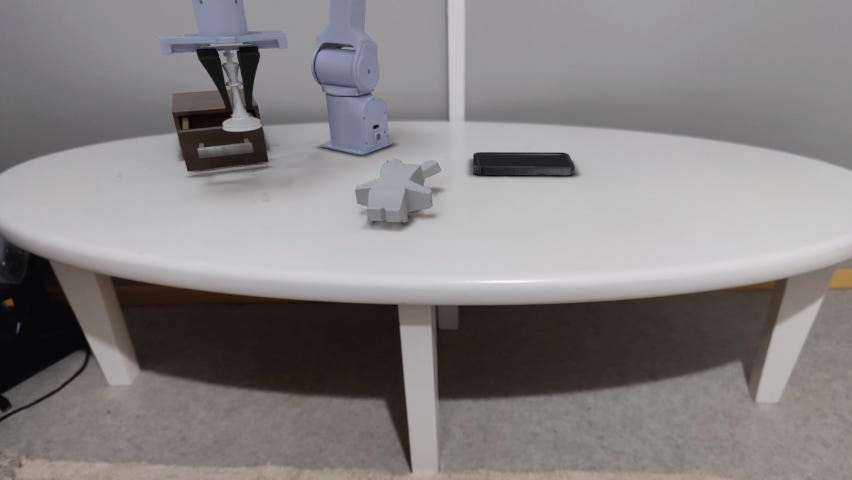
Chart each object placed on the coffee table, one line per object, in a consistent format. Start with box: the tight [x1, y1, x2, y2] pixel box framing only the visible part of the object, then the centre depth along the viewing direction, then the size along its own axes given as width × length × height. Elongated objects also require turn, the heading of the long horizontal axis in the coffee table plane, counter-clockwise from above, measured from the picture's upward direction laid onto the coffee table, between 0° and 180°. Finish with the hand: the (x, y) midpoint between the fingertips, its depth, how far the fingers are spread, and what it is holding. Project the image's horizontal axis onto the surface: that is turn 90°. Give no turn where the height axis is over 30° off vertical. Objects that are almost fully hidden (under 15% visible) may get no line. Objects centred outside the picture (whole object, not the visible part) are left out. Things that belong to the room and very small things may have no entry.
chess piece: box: [221, 50, 263, 132], centre depth 73 cm, size 5×5×10 cm
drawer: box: [177, 110, 270, 173], centre depth 85 cm, size 19×11×6 cm, turn 25°
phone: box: [472, 151, 575, 176], centre depth 86 cm, size 8×1×15 cm
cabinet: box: [171, 88, 262, 159], centre depth 95 cm, size 15×12×7 cm
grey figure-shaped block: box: [354, 157, 442, 223], centre depth 71 cm, size 10×5×15 cm
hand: (239, 109), depth 74 cm, fingers closed on chess piece
